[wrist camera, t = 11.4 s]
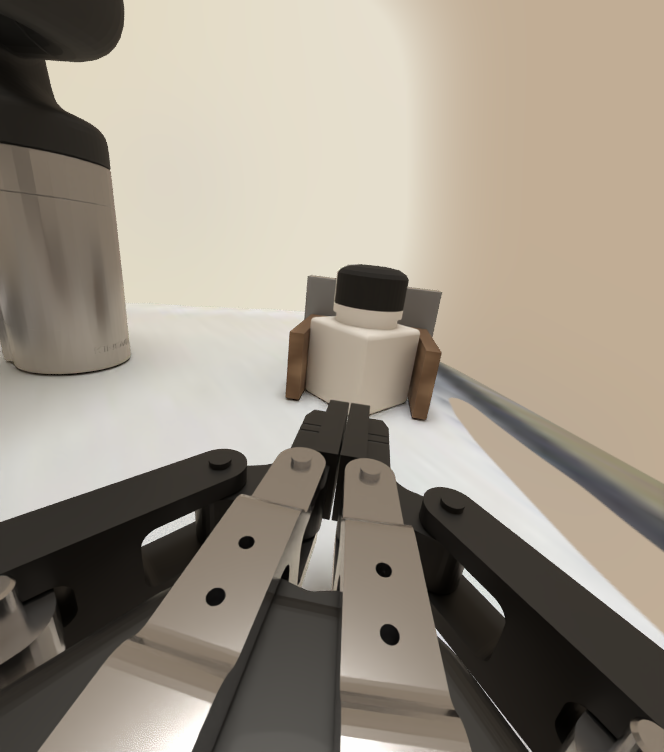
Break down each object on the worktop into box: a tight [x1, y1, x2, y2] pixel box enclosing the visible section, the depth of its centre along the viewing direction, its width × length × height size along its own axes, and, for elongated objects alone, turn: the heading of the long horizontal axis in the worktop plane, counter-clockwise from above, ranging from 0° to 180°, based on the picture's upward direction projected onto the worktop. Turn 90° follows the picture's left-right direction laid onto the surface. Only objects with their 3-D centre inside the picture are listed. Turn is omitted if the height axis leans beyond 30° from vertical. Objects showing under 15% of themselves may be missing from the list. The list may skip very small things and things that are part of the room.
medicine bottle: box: [305, 264, 420, 415], centre depth 30 cm, size 7×7×12 cm
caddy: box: [286, 314, 441, 420], centre depth 32 cm, size 12×9×6 cm
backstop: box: [304, 275, 442, 337], centre depth 37 cm, size 14×2×10 cm, turn 82°
